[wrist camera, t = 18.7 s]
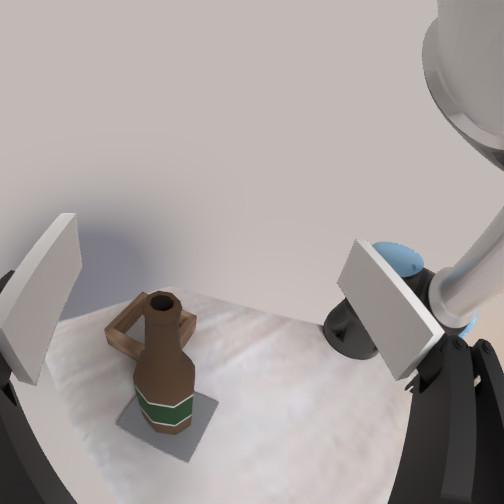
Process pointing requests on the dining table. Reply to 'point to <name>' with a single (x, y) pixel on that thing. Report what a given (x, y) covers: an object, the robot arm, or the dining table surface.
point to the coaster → (170, 444)
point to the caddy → (130, 316)
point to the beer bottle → (164, 367)
